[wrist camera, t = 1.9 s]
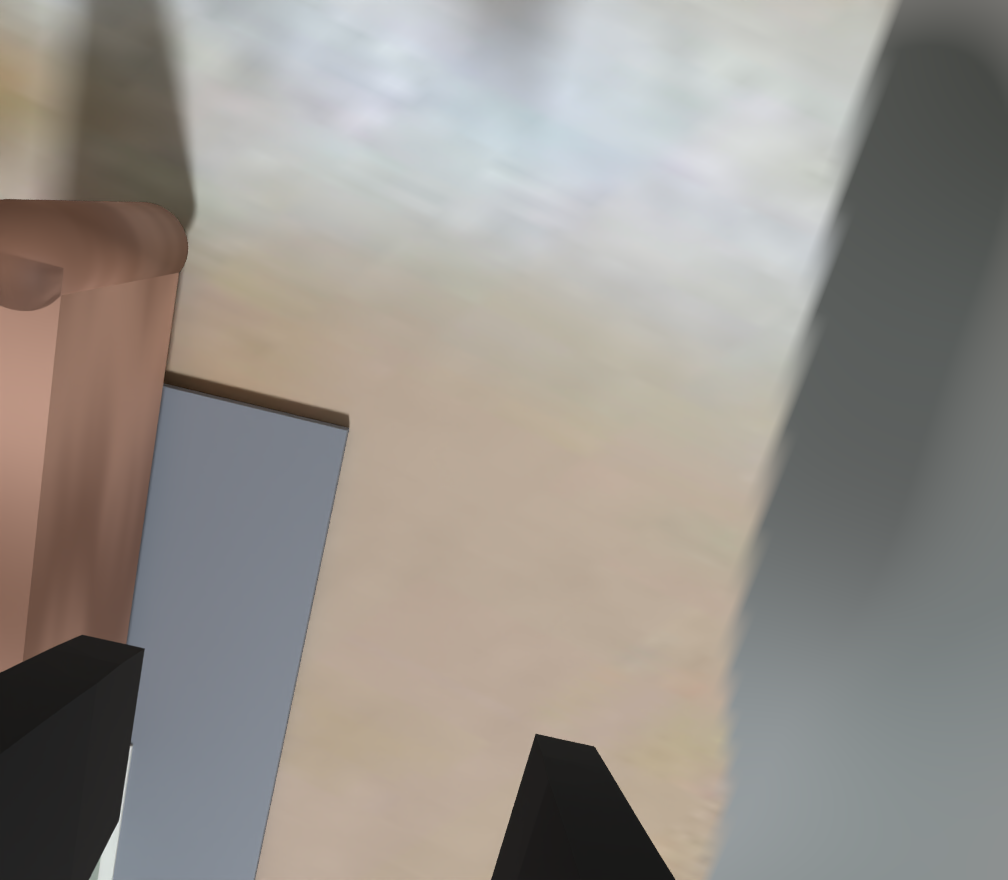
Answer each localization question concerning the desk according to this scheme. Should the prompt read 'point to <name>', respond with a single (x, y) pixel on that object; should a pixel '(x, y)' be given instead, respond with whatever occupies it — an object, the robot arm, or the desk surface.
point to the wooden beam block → (78, 410)
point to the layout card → (219, 630)
